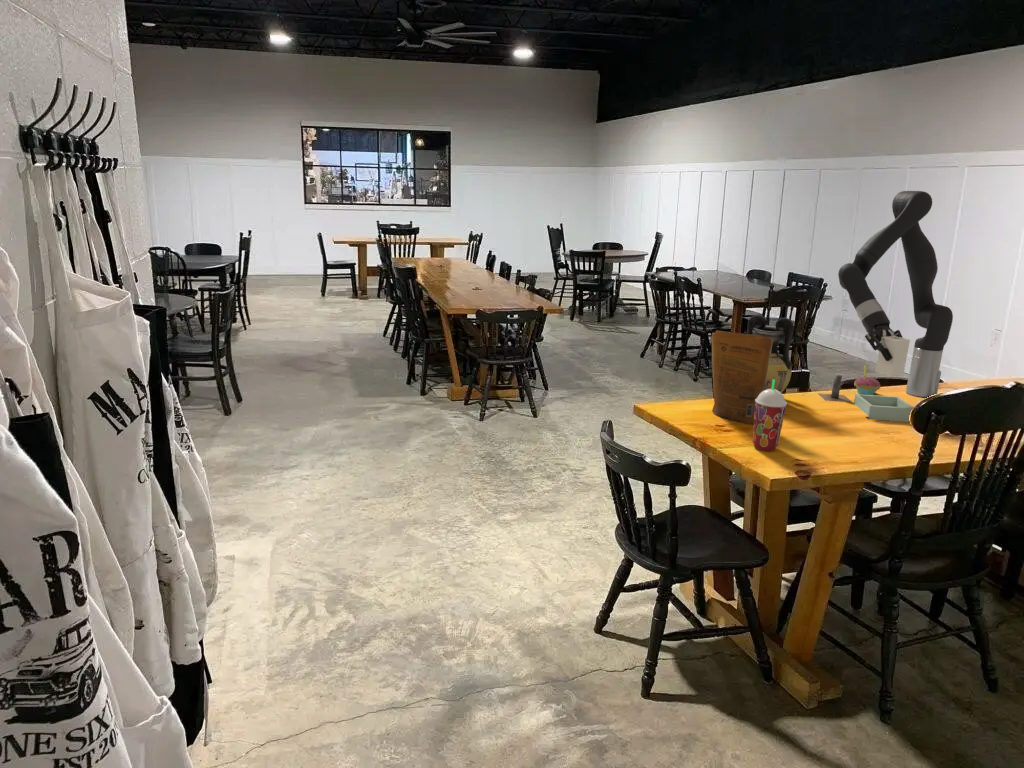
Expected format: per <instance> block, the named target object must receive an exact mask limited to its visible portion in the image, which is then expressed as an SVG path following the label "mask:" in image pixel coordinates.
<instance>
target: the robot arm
mask: <svg viewBox="0 0 1024 768" xmlns="http://www.w3.org/2000/svg"><path fill="white" fill-rule="evenodd" d="M891 205H892V206H891V208H892V214H893V216H894V220H893V221H892V222H891V223H889V224H888V225H887V226H885V227H883V228H882V229H881V230H879V231H877V232H876V233H875V234H873V235H872V236H871V237H870V238H869V239H868V240H866V242H865V243H864V244H863V245H862V246H861V248H860V249H859V250H857V253H855V257H854V260H853V261H852V263H851V262H850V263H845V264H843V265H842V266H841V267H840V268H839V270H838V273H837V275H838V281H839V285H840V287H841V288H842V289H844V290H846V291H847V293H848V297H849V299H850V302H851V304H852V306H853V308H854V309H855V311H856V314H857V317H858V318H859V321H860V323H862V325H863V328H864V329H865V332H866V335H864V338H865V339H866V341H867V342H868V343H869V345H870V346H871V348H872V349H873V351H878V353H879V352H881V353H882V355H883V357H884V358H885V360H886V361H890V360H891V359H892V355H891V354H890V352H889V350H888V348H887V346H886V344H885V340H884V338H882V337H886V336H897V337H901V338H904V337H903V335H902V333H901V331H900V330H899V329H897V330H893V329H892V328H891V327H890V325H891V321H890V319H889V317H888V315H887V314H886V312H885V310H884V308H883V307H882V304H880V303H879V301H878V300H877V298H876V297H875V294H873V292H872V290H871V288H870V287H869V284H868V282H867V280H866V278H867V276H868V275H869V273H870V272H871V270H872V268H873V267H874V266H875V265H876V264H877V262H879V260H880V259H882V257H883V256H884V255H885V254H886V252H887V251H888V250H889V249H890V248H891V247H892V246H893V245H894V244H895V243H896V242H898V240H899V239H900V240H901V243H902V244H901V245H902V248H903V254H904V258H905V263H906V269H907V273H908V277H909V278H908V279H909V283H910V289H911V295H912V303H913V304H912V305H913V315H914V320H915V322H916V324H917V325H918V326H919V327H921V328H923V329H925V330H926V331H925V334H924V336H923V337H919V338H916V339H915V341H914V345H913V352H912V356H911V363H910V367H909V372H908V379H907V383H906V384H907V385H906V390H905V393H906V394H908V395H911V396H914V397H915V396H916V397H920V398H929V397H928V396H931V395H934V394H937V395H938V390H939V385H940V380H941V376H942V375H941V374H942V371H941V370H940V367H941V363H942V362H941V361H942V358H943V352H944V349H945V348H944V347H945V346H946V345H947V342H948V339H949V338H950V337H949V336H950V333H951V329H952V324H953V320H954V314H953V310H951V308H950V307H948V306H945V305H942V304H938V303H936V302H935V299H934V294H933V284H934V282H935V280H936V277H937V274H938V261H937V257H936V255H937V254H936V251H935V249H934V247H933V245H932V243H931V242H930V240H929V239H928V237H927V236H926V235H925V233H924V232H923V231H922V228H921V226H920V223H919V222H920V221H921V220H922V219H924V217H926V216H927V215H928V214H929V212H930V211H931V209H932V206H933V198H932V196H931V195H930V194H929V193H928V192H926V191H922V190H903V191H900V192H898V193H896V194H895V196H894V197H893V200H892V204H891ZM881 339H882V340H881ZM894 339H895V338H894ZM881 344H882V345H881Z"/></svg>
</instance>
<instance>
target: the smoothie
mask: <svg viewBox="0 0 1024 768" xmlns="http://www.w3.org/2000/svg"><path fill="white" fill-rule="evenodd" d="M774 384H775V380H774V379H773V381H772V388H771V389H766V390H764V391H762V392H761V393H760V394H759V395H758V397H757V398H756V399H755V412H754V424H753V427H752V428H753V430H752V431H753V432H752V433H753V434H752V443H753V447H754V448H756V450H760V451H764V452H774V451H775V450H776V448H777V447H778V446H779V443H780V442H779V441H780V437H781V431H782V427H783V424H784V418H785V413H786V408H787V405H788V403H787V401H786V398H785V396H784V395H783V392H782V393H781V392H779V391H778V390H775V389H774Z"/></svg>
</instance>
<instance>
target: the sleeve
mask: <svg viewBox="0 0 1024 768" xmlns="http://www.w3.org/2000/svg"><path fill="white" fill-rule="evenodd" d="M882 338H884V340H885V344H886V346H887V348H888V350H889V352H890V354H891V355H892V359H891V360H890V361H886V360H885V358H884V357H883V355H882V353H881V352H879V351H878V356H877V360H876V361H877V362H876V368H875V373H877V374H880V375H882V376H886V377H888V378H889V377H890V378H894V377H903V376H904V373H905V369H906V368H905V367H906V363H907V357H908V352H909V348H910V342H911V339H908V338H905V337H903V338H901V337H897V336H886V337H882ZM894 338H895V339H894ZM881 340H882V339H881ZM881 345H882V344H881Z"/></svg>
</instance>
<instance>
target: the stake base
mask: <svg viewBox="0 0 1024 768" xmlns="http://www.w3.org/2000/svg"><path fill="white" fill-rule="evenodd" d="M842 378H843V375H842V374H841V375H840V374H834V377H833V381H832V382H833V383H832V389H831V393H820V392H819V393H817V394H818V395H819V396H820V397H821V398H822V400H824V401H826V402H827V401H828V402H844V403H853V401H852V400H851V399H849V398H848V397H847V396H846V395H844V394H840V391H841V383H842Z"/></svg>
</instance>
